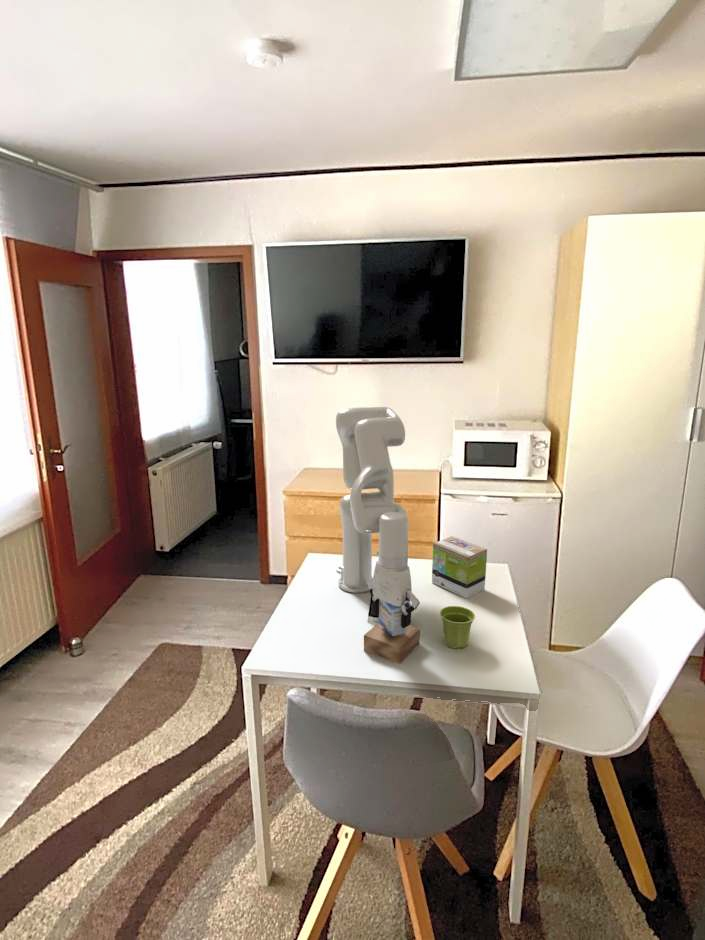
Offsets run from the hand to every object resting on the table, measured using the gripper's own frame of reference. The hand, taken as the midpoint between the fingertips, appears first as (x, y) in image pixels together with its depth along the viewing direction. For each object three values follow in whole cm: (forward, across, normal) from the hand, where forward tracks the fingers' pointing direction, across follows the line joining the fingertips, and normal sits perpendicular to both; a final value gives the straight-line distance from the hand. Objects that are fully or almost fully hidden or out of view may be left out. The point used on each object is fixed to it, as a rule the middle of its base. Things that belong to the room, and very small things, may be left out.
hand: (392, 619), depth 153 cm
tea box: (+9, -8, +43) cm, 44 cm away
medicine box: (+3, 0, 0) cm, 3 cm away
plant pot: (+9, +11, +14) cm, 20 cm away
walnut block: (+9, 0, 0) cm, 9 cm away
